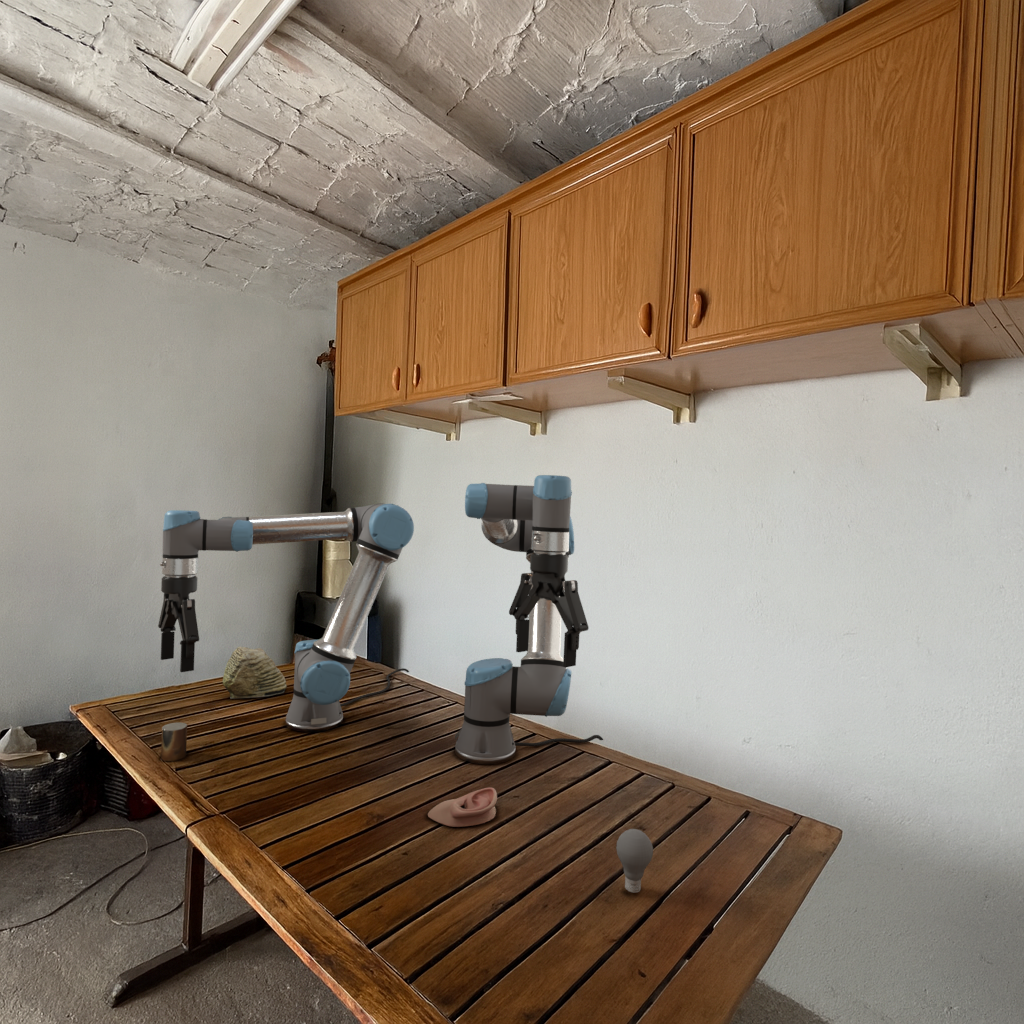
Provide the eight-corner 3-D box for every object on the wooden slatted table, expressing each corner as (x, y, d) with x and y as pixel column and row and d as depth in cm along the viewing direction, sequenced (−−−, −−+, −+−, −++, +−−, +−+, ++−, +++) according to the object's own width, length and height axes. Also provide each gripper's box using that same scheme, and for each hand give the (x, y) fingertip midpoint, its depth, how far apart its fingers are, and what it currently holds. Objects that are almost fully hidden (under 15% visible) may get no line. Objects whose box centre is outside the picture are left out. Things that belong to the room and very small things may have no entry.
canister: (191, 754, 152) (192, 724, 152) (173, 762, 147) (174, 731, 147) (173, 750, 154) (175, 721, 154) (155, 759, 149) (156, 728, 149)
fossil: (218, 695, 195) (220, 647, 195) (278, 685, 208) (279, 640, 207) (228, 703, 189) (230, 653, 188) (289, 692, 201) (290, 645, 201)
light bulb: (610, 879, 108) (613, 822, 108) (644, 879, 109) (647, 822, 109) (619, 902, 102) (622, 840, 102) (655, 901, 103) (658, 840, 103)
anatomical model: (423, 802, 125) (441, 778, 136) (422, 822, 125) (440, 796, 136) (488, 812, 122) (501, 786, 133) (487, 832, 122) (500, 805, 133)
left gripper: (145, 570, 156) (142, 656, 156) (181, 583, 138) (178, 679, 139) (178, 569, 161) (175, 652, 161) (216, 580, 144) (213, 673, 144)
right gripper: (495, 547, 133) (491, 647, 134) (583, 559, 115) (577, 676, 115) (521, 547, 138) (517, 643, 139) (610, 558, 119) (604, 670, 120)
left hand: (176, 665), depth 150 cm, fingers open, 13 cm apart
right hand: (544, 658), depth 127 cm, fingers open, 13 cm apart
